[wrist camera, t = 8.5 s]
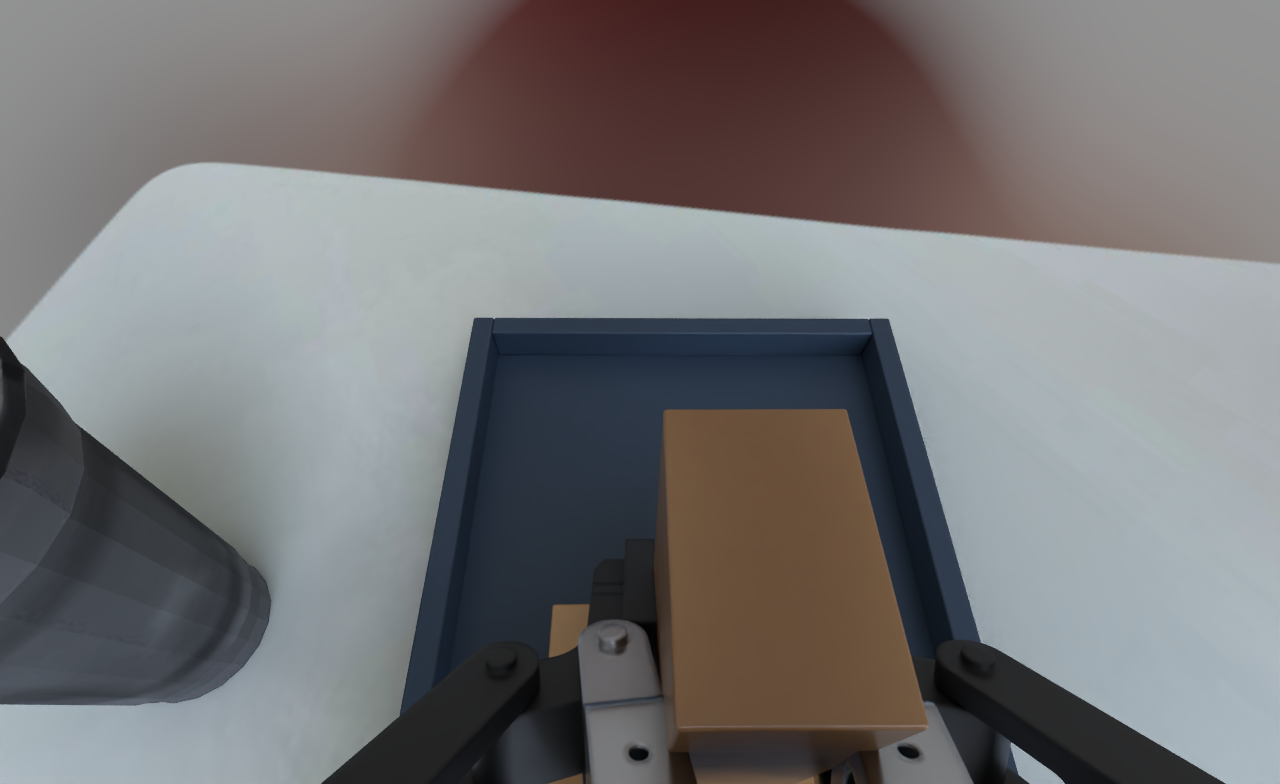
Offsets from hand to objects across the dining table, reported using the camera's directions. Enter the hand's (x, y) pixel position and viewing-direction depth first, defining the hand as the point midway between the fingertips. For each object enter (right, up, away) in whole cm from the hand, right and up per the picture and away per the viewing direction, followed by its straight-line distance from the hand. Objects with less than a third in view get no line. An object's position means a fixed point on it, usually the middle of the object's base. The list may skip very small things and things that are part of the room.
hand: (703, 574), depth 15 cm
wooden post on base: (0, -5, +3) cm, 6 cm away
